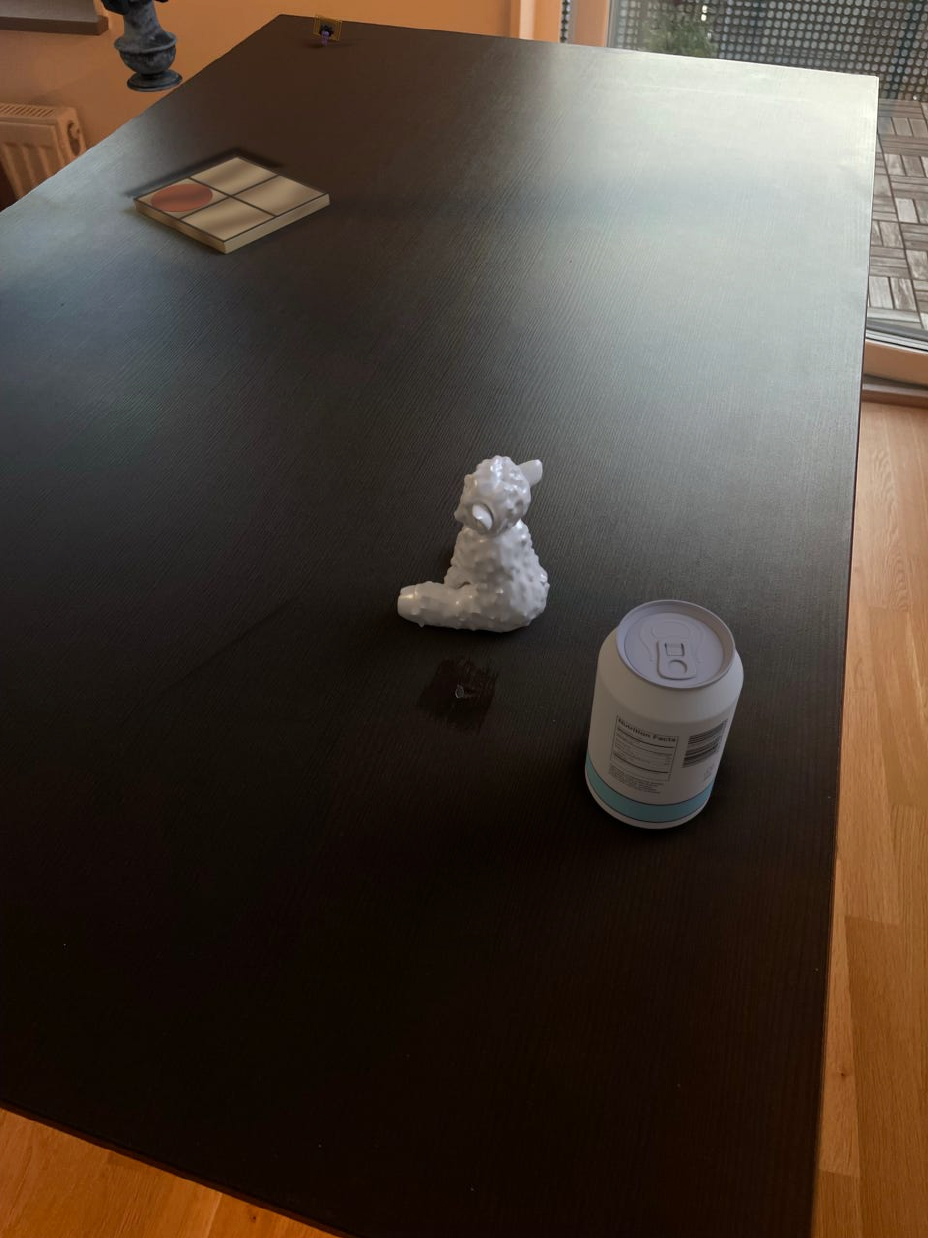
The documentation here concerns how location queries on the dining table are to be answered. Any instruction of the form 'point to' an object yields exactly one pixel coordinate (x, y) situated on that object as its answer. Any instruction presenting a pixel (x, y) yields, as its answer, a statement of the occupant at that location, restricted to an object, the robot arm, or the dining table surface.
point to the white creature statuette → (487, 557)
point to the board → (231, 203)
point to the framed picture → (326, 29)
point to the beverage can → (661, 713)
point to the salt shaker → (147, 49)
